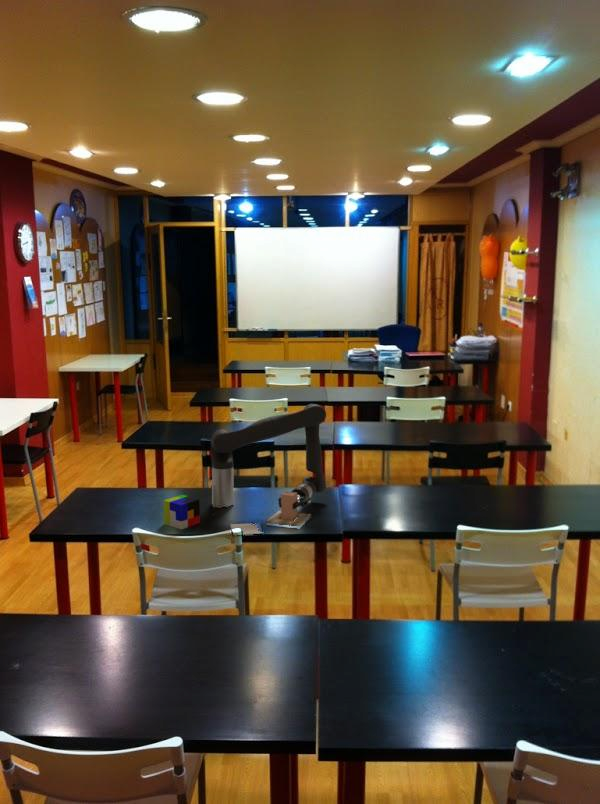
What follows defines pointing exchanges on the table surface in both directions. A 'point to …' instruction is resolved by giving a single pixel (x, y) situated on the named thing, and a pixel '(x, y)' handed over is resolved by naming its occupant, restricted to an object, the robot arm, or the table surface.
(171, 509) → the puzzle toy
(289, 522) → the puzzle board
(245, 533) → the grey pad
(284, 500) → the terracotta block
